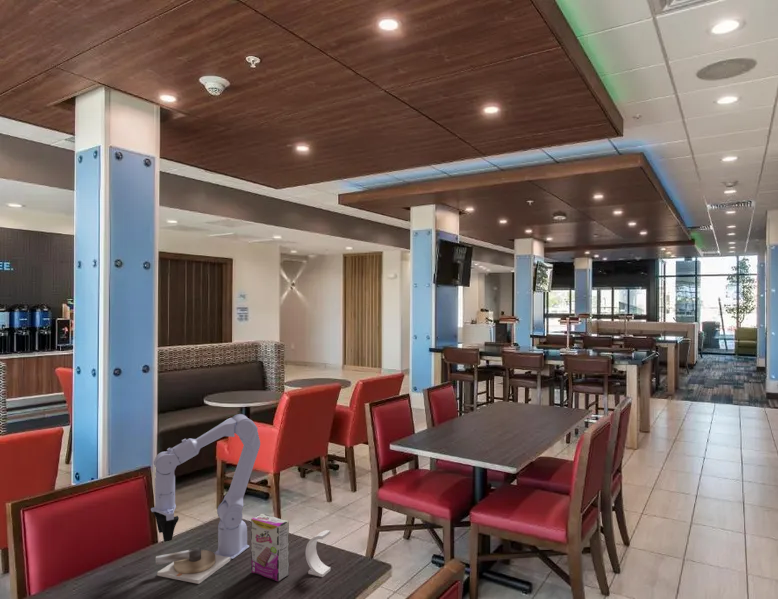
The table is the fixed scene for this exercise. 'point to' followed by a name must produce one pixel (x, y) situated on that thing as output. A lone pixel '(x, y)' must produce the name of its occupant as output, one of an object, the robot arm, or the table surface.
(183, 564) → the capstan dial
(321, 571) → the headphone stand
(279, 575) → the candy bar box
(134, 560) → the table surface
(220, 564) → the base plate
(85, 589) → the table surface
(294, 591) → the table surface
